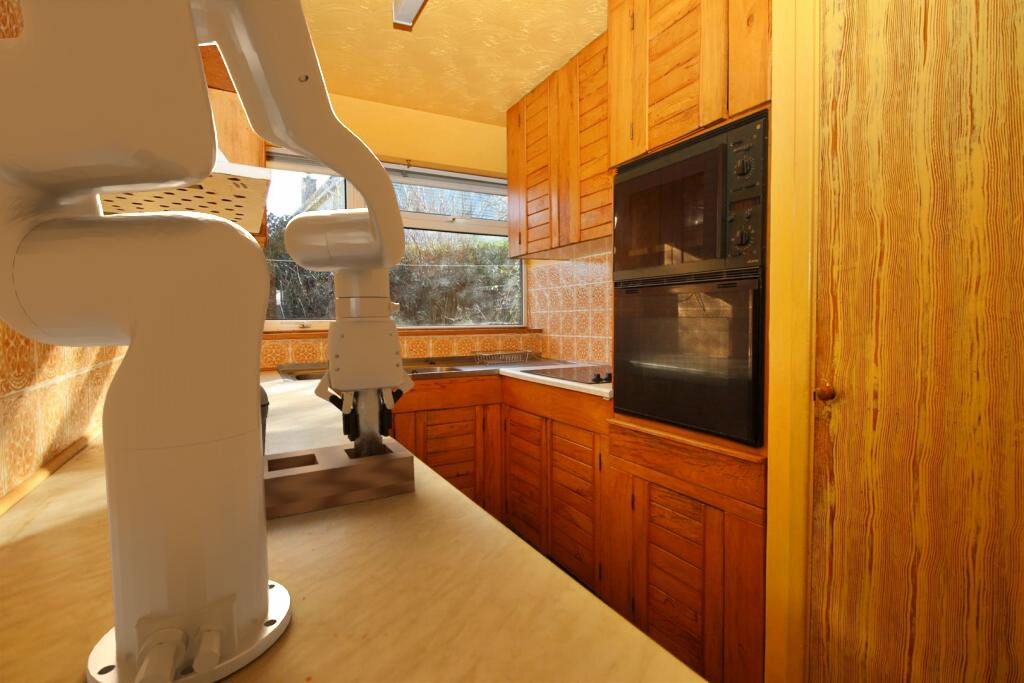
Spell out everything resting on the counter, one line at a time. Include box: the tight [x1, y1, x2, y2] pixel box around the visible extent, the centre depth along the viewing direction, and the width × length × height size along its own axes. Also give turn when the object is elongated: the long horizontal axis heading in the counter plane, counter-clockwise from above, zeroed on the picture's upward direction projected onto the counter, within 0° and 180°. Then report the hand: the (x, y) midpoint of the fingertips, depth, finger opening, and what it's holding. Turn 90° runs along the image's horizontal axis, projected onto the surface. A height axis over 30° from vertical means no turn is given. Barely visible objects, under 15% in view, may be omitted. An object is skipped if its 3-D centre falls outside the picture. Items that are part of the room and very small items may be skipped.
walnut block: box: [263, 437, 416, 521], centre depth 66 cm, size 20×12×5 cm, turn 118°
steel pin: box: [351, 388, 384, 459], centre depth 68 cm, size 4×4×12 cm
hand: (368, 435), depth 68 cm, fingers closed on steel pin, 4 cm apart
